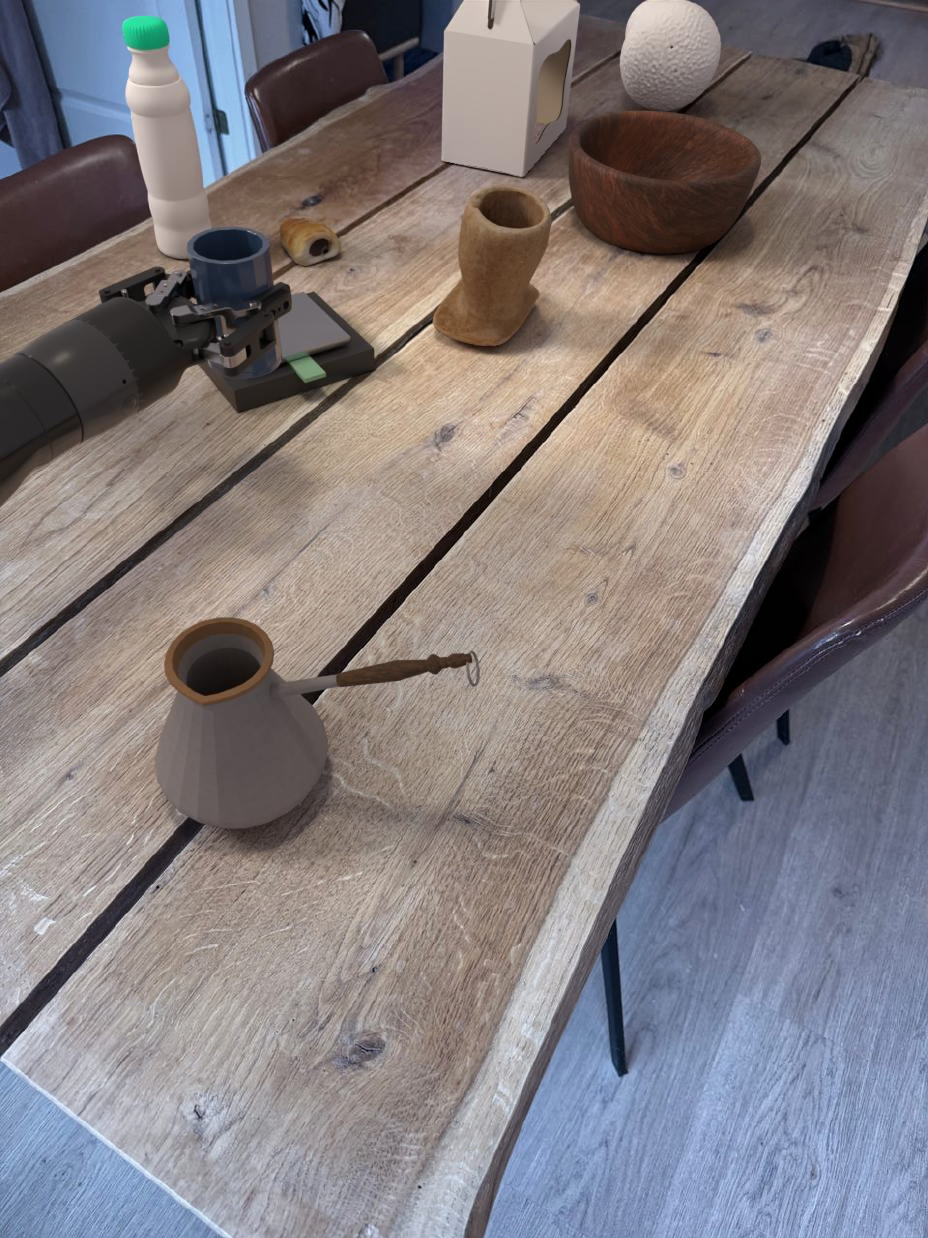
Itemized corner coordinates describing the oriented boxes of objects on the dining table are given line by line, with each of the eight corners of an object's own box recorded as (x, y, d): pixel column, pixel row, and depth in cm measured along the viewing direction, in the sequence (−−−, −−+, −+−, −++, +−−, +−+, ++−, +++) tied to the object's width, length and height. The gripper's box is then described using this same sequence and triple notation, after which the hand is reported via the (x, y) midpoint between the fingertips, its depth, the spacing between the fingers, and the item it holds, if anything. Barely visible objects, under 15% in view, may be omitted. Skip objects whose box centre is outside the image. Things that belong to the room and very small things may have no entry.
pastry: (267, 239, 118) (264, 209, 115) (314, 228, 120) (312, 199, 117) (299, 269, 112) (296, 239, 110) (347, 258, 115) (346, 228, 112)
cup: (226, 386, 74) (205, 270, 67) (197, 350, 78) (174, 236, 70) (294, 366, 77) (282, 252, 69) (263, 332, 80) (248, 220, 73)
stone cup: (517, 365, 100) (530, 231, 89) (419, 339, 103) (420, 205, 92) (562, 304, 109) (579, 175, 98) (472, 281, 112) (478, 154, 101)
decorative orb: (658, 135, 147) (679, 22, 135) (578, 103, 156) (591, -6, 144) (731, 109, 157) (757, 1, 145) (652, 81, 165) (671, -24, 153)
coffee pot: (140, 838, 60) (78, 701, 49) (191, 700, 67) (147, 554, 56) (462, 871, 59) (473, 739, 48) (476, 727, 67) (488, 586, 56)
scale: (246, 423, 91) (241, 398, 89) (185, 348, 100) (180, 324, 97) (384, 378, 97) (383, 354, 95) (316, 311, 106) (314, 288, 104)
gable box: (490, 114, 151) (502, -97, 130) (566, 128, 148) (591, -86, 127) (440, 162, 136) (444, -67, 116) (523, 179, 134) (543, -53, 113)
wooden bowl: (648, 283, 114) (664, 200, 106) (523, 209, 127) (530, 130, 119) (779, 236, 124) (803, 157, 116) (652, 171, 137) (665, 97, 130)
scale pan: (245, 374, 91) (244, 367, 91) (203, 324, 97) (201, 317, 97) (350, 343, 96) (350, 336, 95) (304, 297, 102) (303, 290, 101)
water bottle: (223, 254, 114) (186, 25, 96) (168, 265, 112) (119, 32, 93) (204, 231, 118) (165, 7, 100) (151, 241, 116) (101, 13, 97)
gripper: (159, 358, 59) (321, 262, 69) (12, 292, 64) (182, 211, 74) (180, 451, 65) (327, 350, 75) (44, 383, 70) (198, 296, 80)
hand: (254, 281), depth 74 cm, fingers closed on cup, 6 cm apart
